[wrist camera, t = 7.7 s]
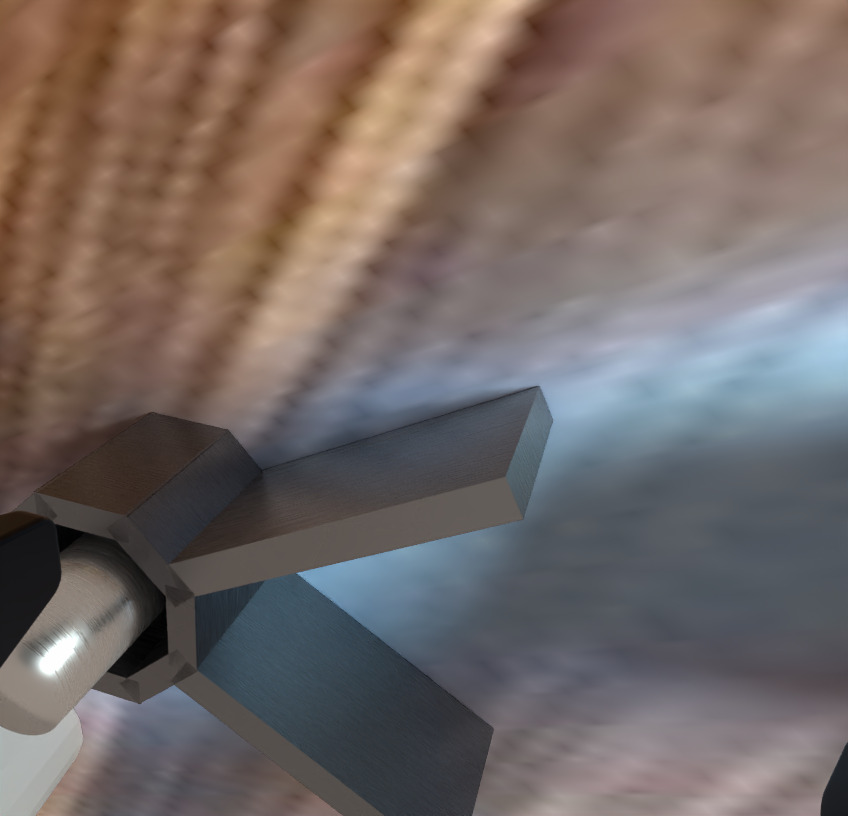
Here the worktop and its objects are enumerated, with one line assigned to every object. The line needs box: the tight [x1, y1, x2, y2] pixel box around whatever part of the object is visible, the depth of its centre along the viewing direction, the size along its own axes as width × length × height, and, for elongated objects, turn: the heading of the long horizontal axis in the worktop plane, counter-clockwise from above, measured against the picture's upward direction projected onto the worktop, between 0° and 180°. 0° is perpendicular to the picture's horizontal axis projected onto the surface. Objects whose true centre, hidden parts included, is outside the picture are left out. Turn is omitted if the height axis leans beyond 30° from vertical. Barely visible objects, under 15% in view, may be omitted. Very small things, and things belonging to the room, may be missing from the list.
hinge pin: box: [0, 532, 166, 736], centre depth 21 cm, size 3×3×8 cm
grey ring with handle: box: [12, 386, 553, 816], centre depth 22 cm, size 14×13×5 cm
